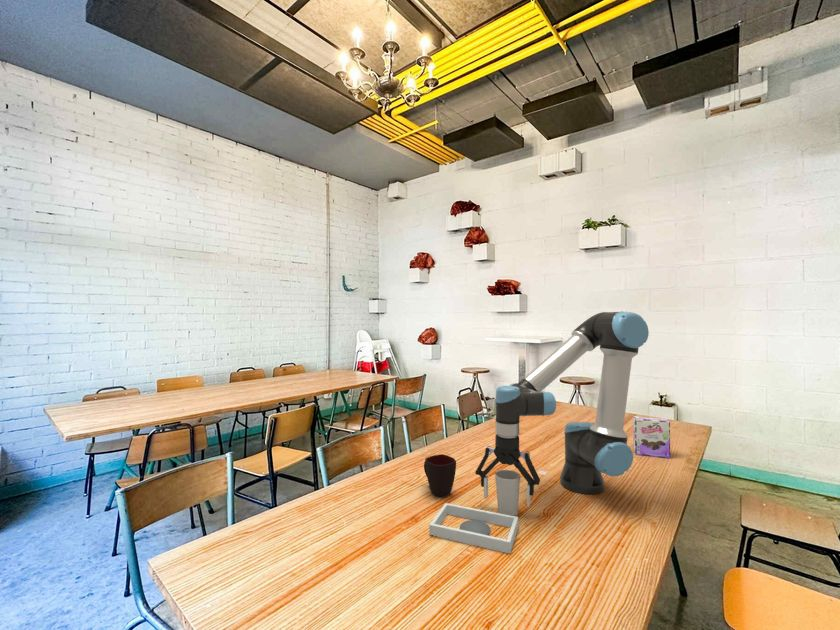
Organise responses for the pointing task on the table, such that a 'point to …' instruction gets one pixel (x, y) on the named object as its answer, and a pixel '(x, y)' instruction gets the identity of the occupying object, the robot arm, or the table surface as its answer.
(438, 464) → the mug
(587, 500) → the table surface
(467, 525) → the pad
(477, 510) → the open rectangular frame
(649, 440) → the candy box
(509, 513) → the cup
